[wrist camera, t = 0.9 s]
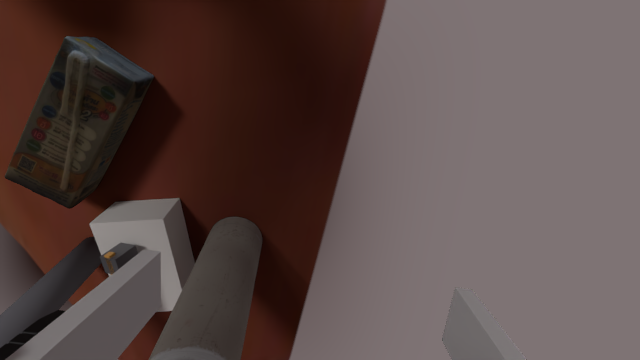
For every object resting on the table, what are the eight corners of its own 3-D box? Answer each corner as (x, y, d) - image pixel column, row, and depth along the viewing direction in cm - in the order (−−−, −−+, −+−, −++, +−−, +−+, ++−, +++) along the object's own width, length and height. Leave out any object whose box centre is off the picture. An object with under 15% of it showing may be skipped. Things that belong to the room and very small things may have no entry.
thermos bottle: (223, 266, 50) (143, 497, 24) (200, 225, 47) (81, 441, 21) (270, 251, 50) (239, 472, 24) (250, 209, 47) (190, 410, 21)
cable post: (77, 238, 47) (-92, 384, 26) (105, 236, 47) (-42, 380, 27) (86, 260, 48) (-67, 414, 28) (113, 258, 48) (-20, 410, 28)
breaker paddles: (119, 240, 40) (98, 254, 37) (134, 243, 39) (114, 257, 37) (140, 301, 44) (122, 317, 41) (154, 304, 43) (137, 321, 41)
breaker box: (115, 201, 45) (89, 223, 39) (179, 198, 45) (162, 219, 40) (142, 285, 51) (123, 314, 45) (199, 281, 51) (187, 309, 46)
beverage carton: (160, 77, 39) (135, 82, 33) (98, 192, 44) (67, 215, 38) (96, 34, 37) (56, 32, 31) (39, 161, 42) (-4, 180, 36)
